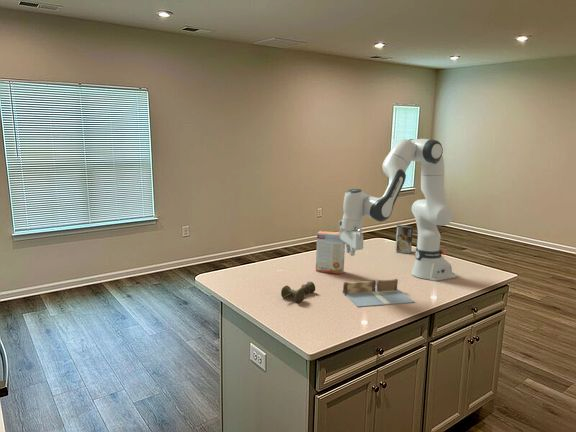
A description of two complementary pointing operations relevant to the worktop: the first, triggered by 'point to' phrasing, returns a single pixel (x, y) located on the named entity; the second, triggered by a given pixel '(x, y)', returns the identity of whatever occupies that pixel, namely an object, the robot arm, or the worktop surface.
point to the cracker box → (330, 252)
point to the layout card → (380, 295)
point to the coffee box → (404, 239)
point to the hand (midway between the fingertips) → (350, 254)
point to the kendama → (298, 292)
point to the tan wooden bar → (359, 286)
